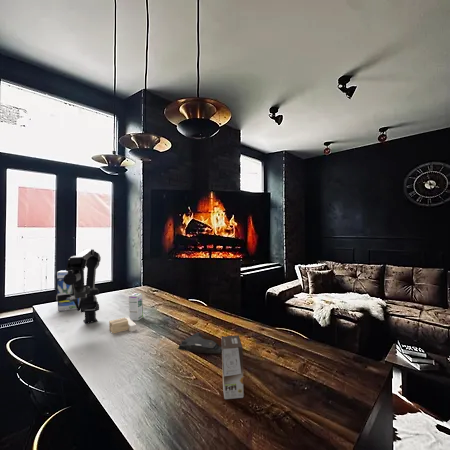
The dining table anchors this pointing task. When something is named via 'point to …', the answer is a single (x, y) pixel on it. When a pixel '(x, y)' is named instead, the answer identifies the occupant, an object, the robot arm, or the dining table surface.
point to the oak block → (118, 325)
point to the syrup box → (135, 306)
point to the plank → (131, 325)
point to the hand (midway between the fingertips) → (78, 310)
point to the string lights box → (64, 289)
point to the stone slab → (200, 345)
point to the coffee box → (232, 367)
